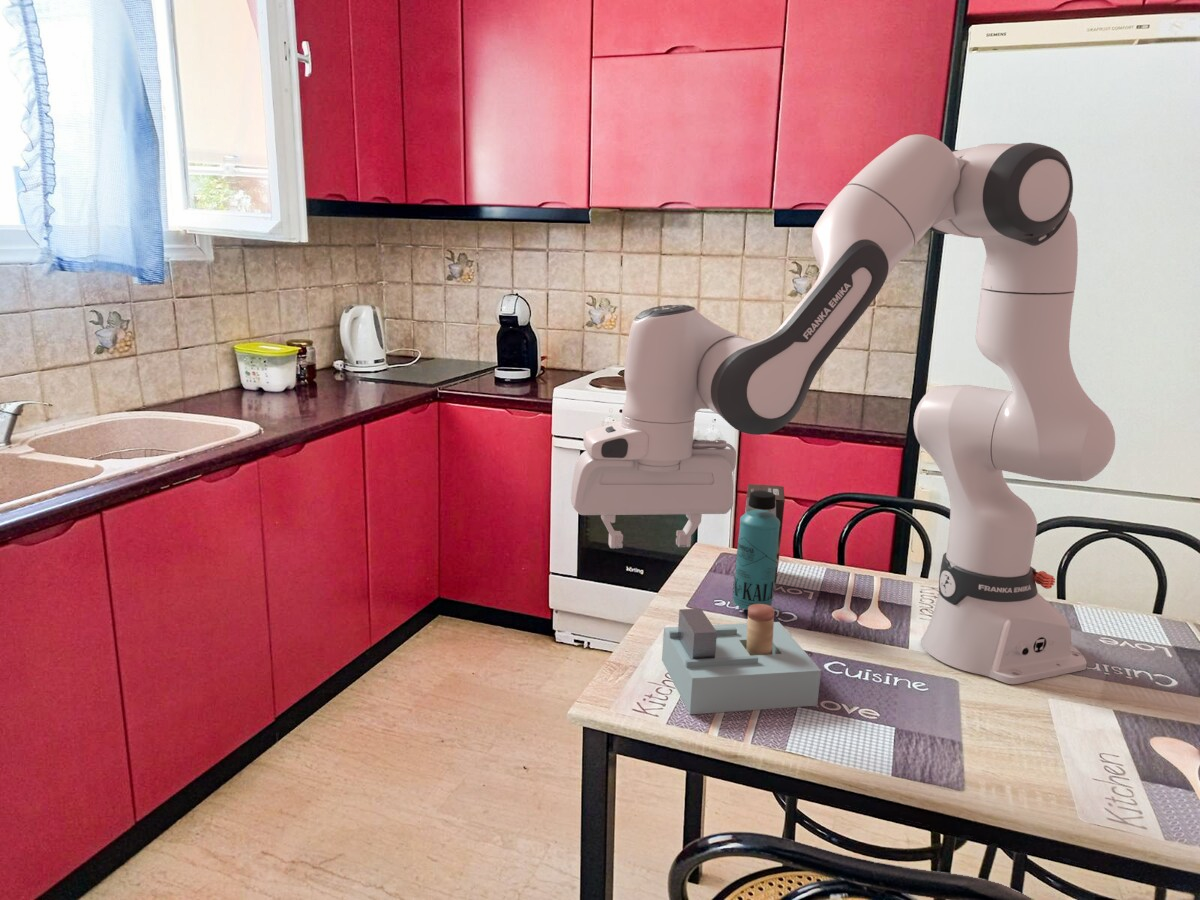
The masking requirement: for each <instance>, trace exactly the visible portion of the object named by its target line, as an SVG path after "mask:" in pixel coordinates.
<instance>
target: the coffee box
mask: <svg viewBox="0 0 1200 900" xmlns="http://www.w3.org/2000/svg"><path fill="white" fill-rule="evenodd" d="M784 490H785V488H784V486H783V485H782V486H781V485H770V484H753V483H748V485H747V491H746V501H745V511H744V514H745V513H746V512H748V511H750V510H761V509H755V508H752V507H750V506H749V505H748V502H749V498H750V493H751V492H752V491H768V492H771V493H773V494H775V508H774V509H770V510H765V511H769V512H771V513H773V514H774V515H775V516H776V517H777V518H778V519H779V521H780V527H779V537H778V548H777V558H776V562H777V563H776V564H777V565H776V570H775V575H776V576H775V580H774V581H775V582H774V585H775V586H774V588H775V589H774V590H776V587H777V578H778V571H779V570H778V569H779V561H780V551H781V541H782V531H783V523H784V522H783V520H784V509H785V501H786V500H785V499H786V498H785V491H784Z"/></svg>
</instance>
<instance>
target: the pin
mask: <svg viewBox="0 0 1200 900" xmlns="http://www.w3.org/2000/svg"><path fill="white" fill-rule="evenodd" d="M774 619H775V609H774V607H773V606H772V605H771V606H769V605H765V604H753V605H750V606H749V607H748V610H747V623H748V624H747V648H746V650H747V652H748V653H749V654H750V656H752V655H770V654H772V646H773V626H774V622H775V620H774Z"/></svg>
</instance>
